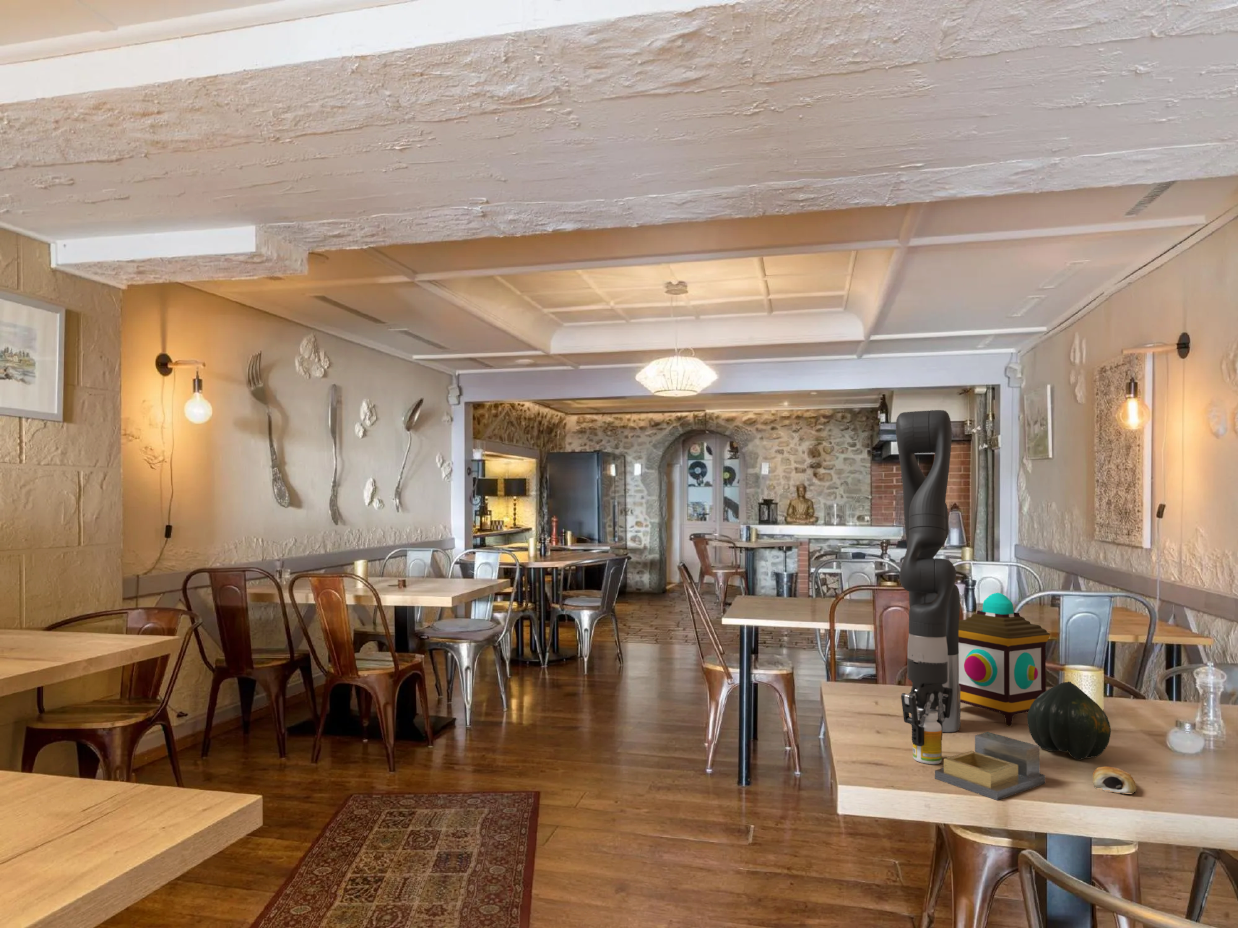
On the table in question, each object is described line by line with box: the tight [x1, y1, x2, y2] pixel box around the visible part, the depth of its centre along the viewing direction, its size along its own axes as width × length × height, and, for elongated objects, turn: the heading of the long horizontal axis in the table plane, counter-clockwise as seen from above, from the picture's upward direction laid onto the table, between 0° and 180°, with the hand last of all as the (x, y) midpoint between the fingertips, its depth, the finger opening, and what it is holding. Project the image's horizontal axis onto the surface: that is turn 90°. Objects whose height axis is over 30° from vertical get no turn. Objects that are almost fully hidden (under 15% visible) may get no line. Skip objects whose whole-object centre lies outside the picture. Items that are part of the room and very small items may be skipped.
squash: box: [1026, 680, 1112, 760], centre depth 158 cm, size 14×15×15 cm
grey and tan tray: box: [934, 731, 1046, 801], centre depth 140 cm, size 16×12×6 cm
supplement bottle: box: [912, 709, 943, 765], centre depth 151 cm, size 5×5×10 cm
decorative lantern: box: [959, 592, 1051, 728], centre depth 187 cm, size 20×20×30 cm
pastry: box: [1091, 766, 1138, 794], centre depth 139 cm, size 9×7×4 cm
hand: (927, 742), depth 151 cm, fingers closed on supplement bottle, 5 cm apart
